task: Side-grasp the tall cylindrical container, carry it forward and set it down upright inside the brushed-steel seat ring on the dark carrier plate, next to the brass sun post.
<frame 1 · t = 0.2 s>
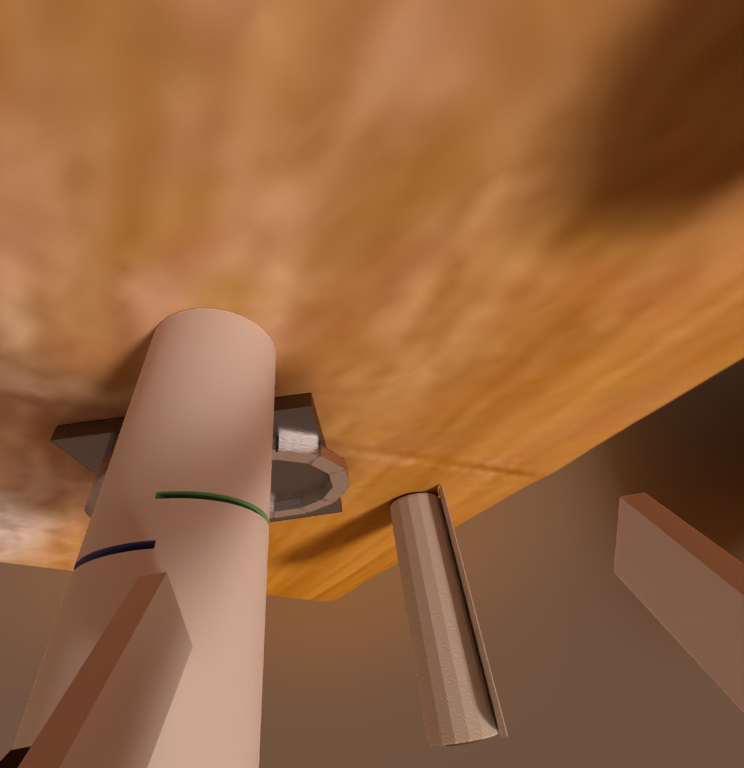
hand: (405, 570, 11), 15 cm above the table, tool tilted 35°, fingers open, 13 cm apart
paper towel roll: (418, 499, 46), on the table
cylindrical container: (217, 351, 24), on the table
carrier: (231, 472, 35), on the table
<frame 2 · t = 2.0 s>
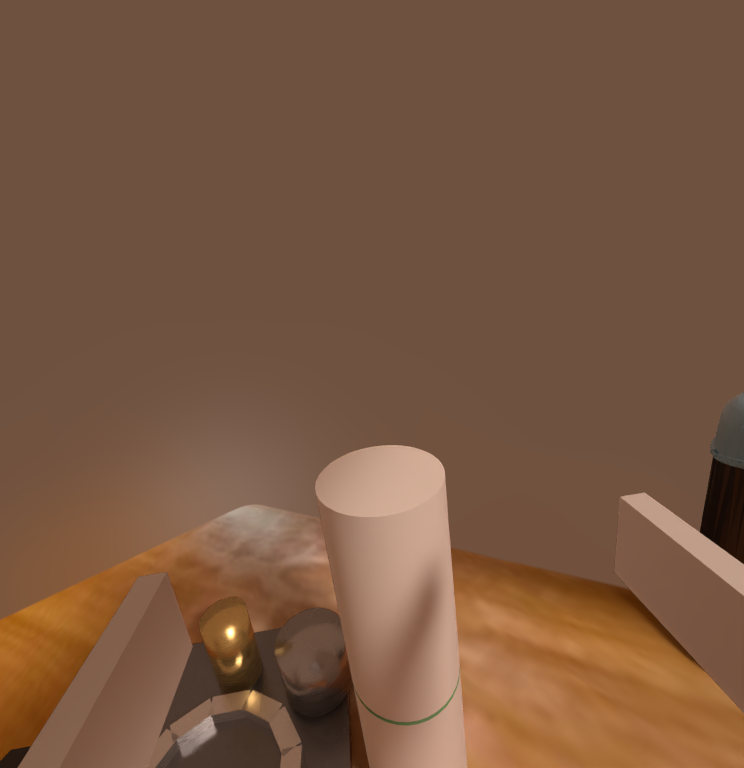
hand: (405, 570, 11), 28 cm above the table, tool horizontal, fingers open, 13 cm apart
carrier: (230, 743, 32), on the table
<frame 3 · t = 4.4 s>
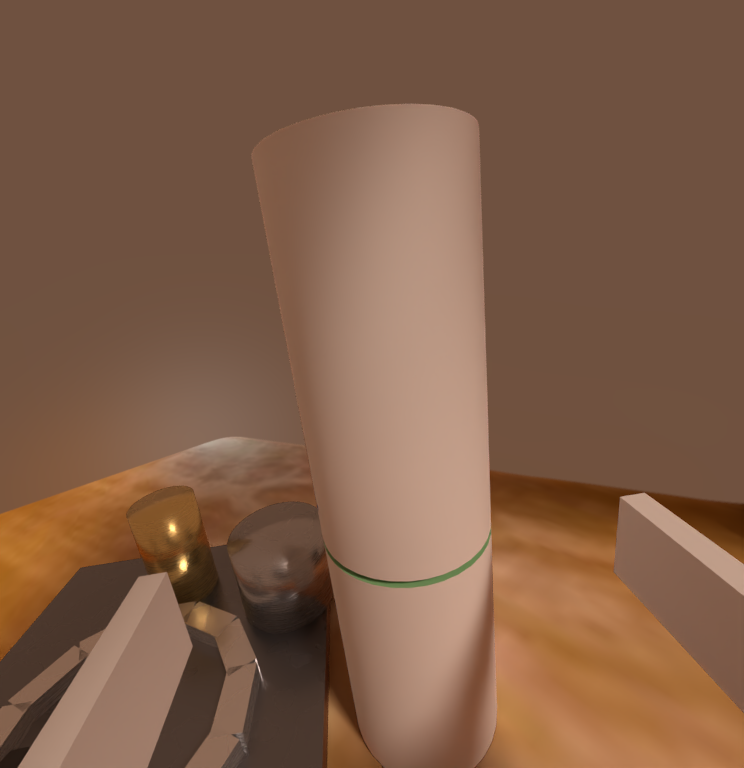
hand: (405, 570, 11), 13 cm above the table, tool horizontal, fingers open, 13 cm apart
cylindrical container: (424, 698, 20), on the table
carrier: (163, 669, 23), on the table
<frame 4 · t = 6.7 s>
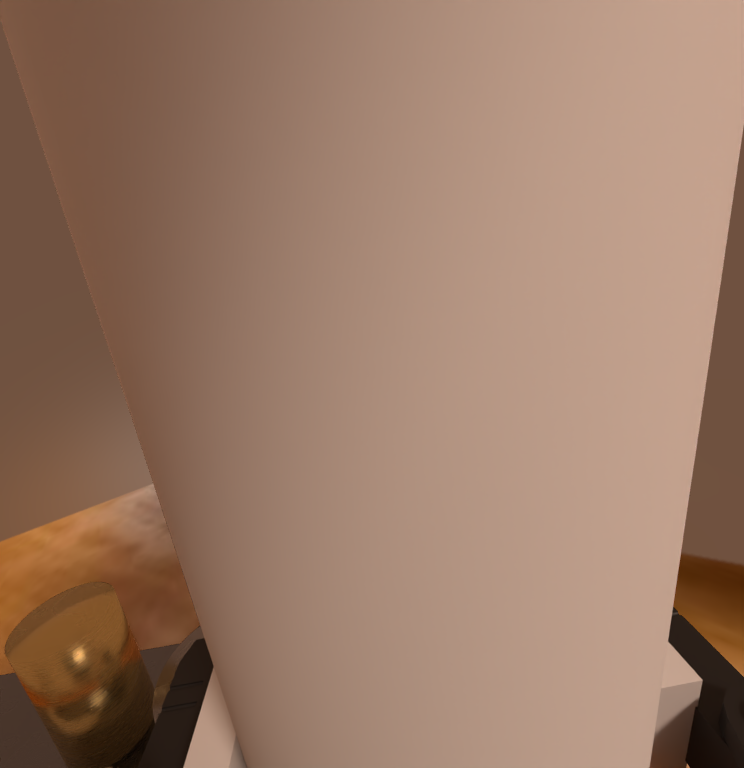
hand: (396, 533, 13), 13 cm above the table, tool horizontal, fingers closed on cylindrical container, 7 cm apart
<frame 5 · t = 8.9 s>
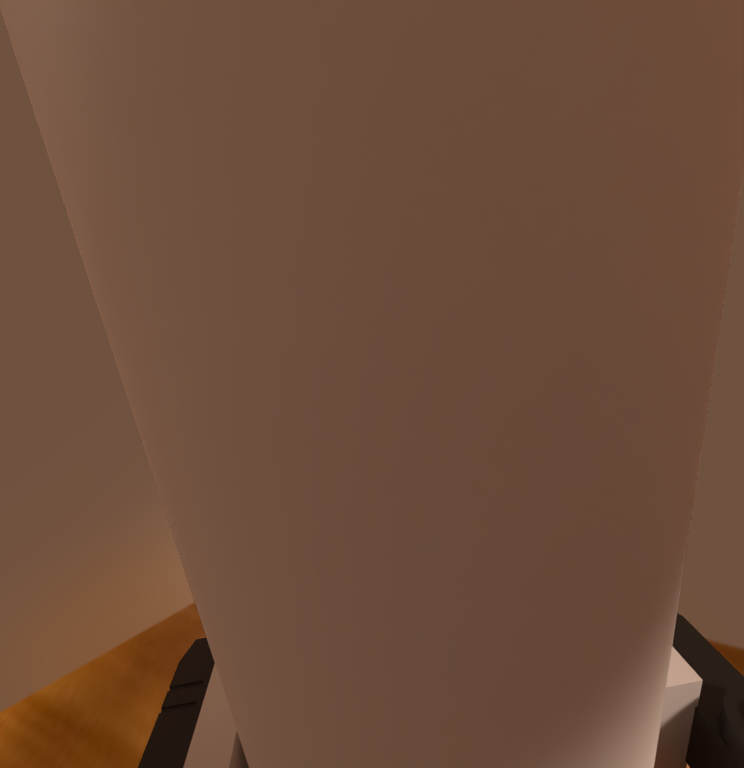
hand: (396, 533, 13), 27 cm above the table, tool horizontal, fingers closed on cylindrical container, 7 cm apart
when the fingers open (15 cm above the table, at t = 11.6 s): cylindrical container drops 1 cm, resting on carrier.
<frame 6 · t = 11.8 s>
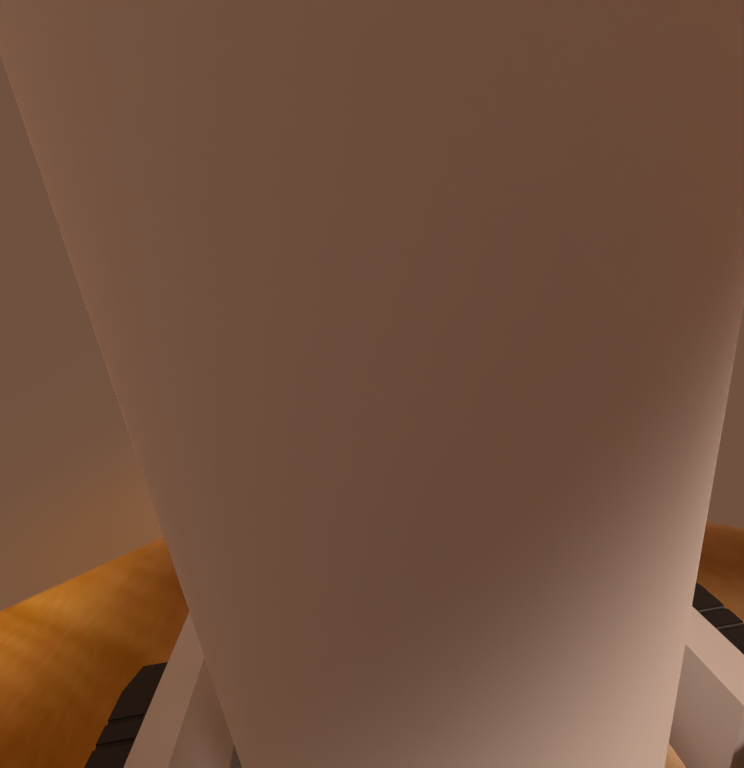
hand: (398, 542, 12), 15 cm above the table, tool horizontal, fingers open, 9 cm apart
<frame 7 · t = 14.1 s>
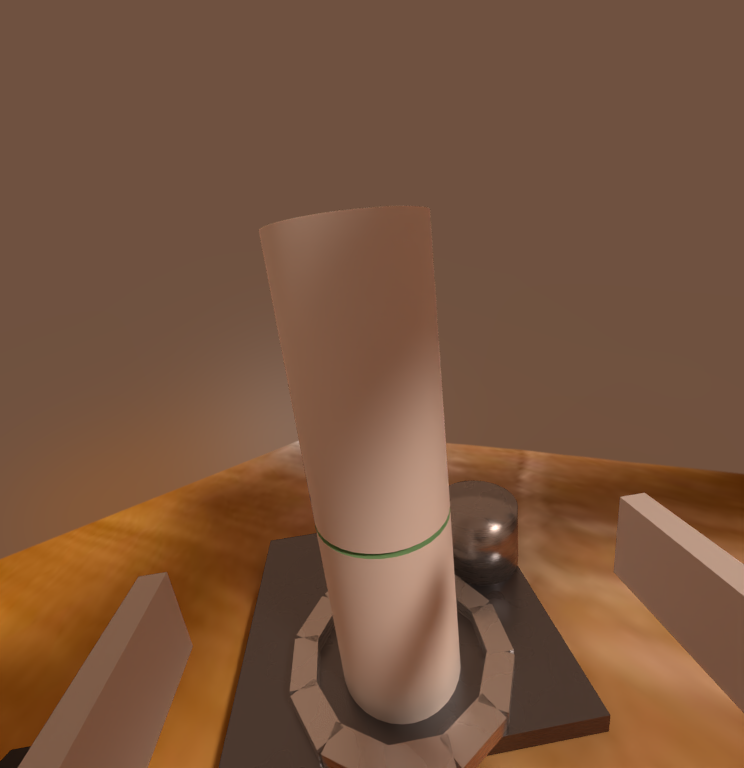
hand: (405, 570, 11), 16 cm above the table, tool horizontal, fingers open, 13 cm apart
cylindrical container: (401, 660, 24), point 1 cm above the table, touching carrier
carrier: (392, 615, 28), on the table
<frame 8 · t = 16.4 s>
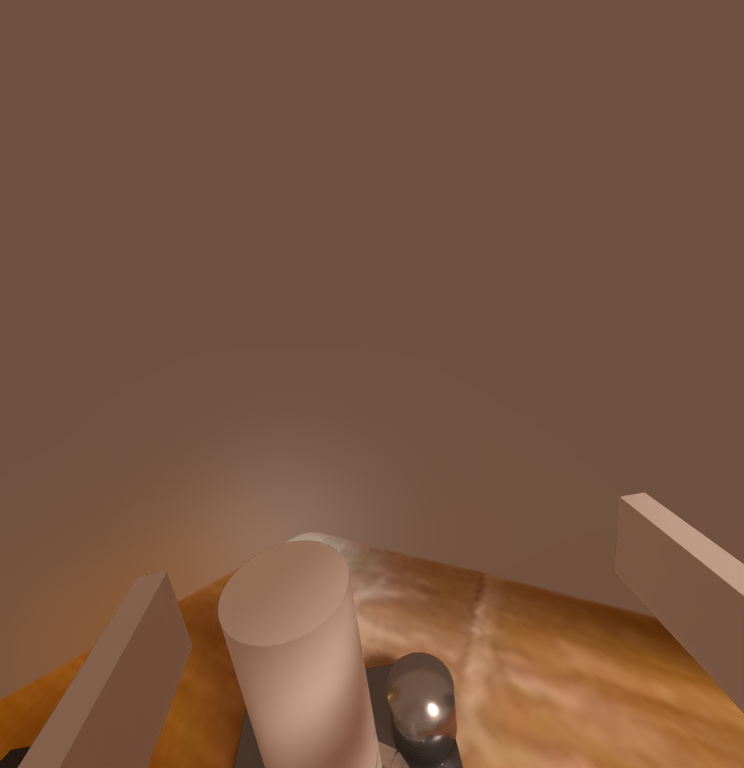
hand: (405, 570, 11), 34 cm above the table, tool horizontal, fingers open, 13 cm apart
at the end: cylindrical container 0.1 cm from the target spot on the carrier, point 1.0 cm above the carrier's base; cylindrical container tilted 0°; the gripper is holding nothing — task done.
